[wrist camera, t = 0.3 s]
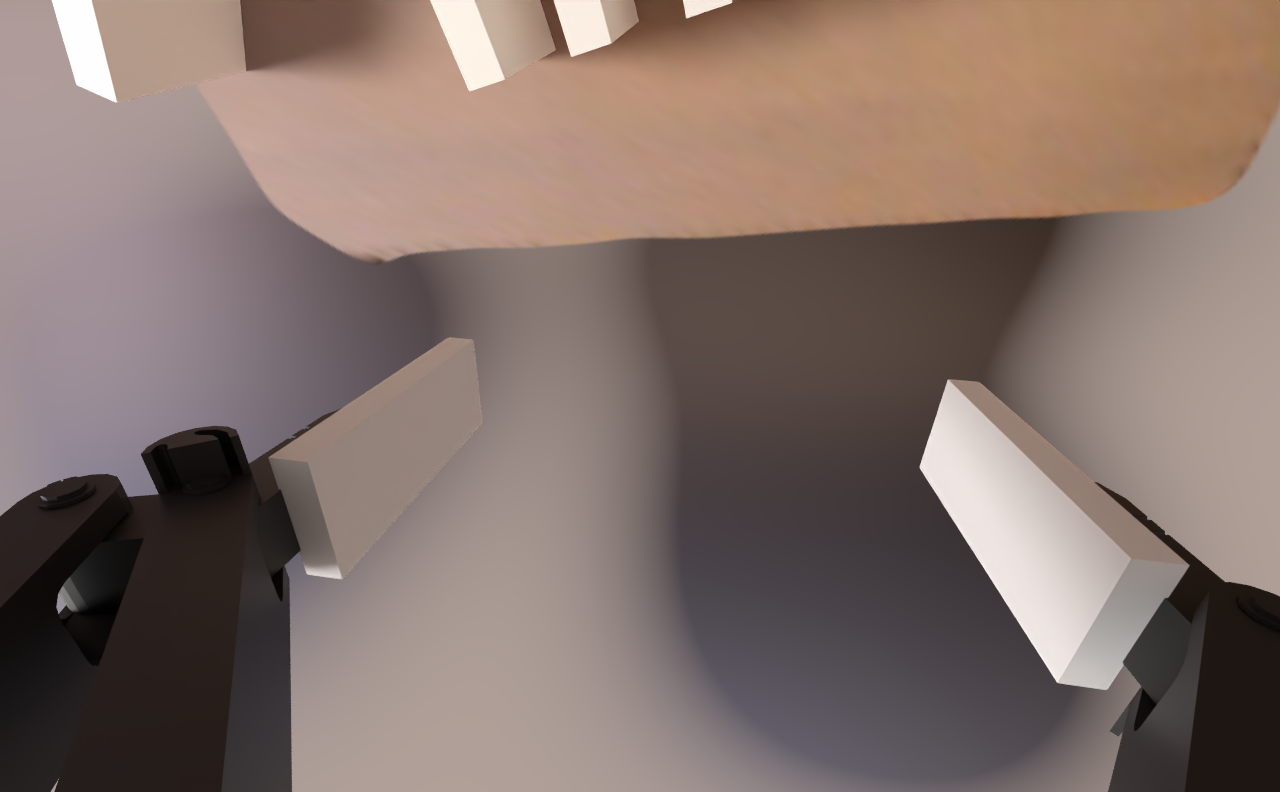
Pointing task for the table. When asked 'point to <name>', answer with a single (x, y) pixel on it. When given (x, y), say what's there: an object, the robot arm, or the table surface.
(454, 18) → the tile
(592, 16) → the tile
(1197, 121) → the table surface
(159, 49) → the tile
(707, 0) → the tile
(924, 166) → the table surface
